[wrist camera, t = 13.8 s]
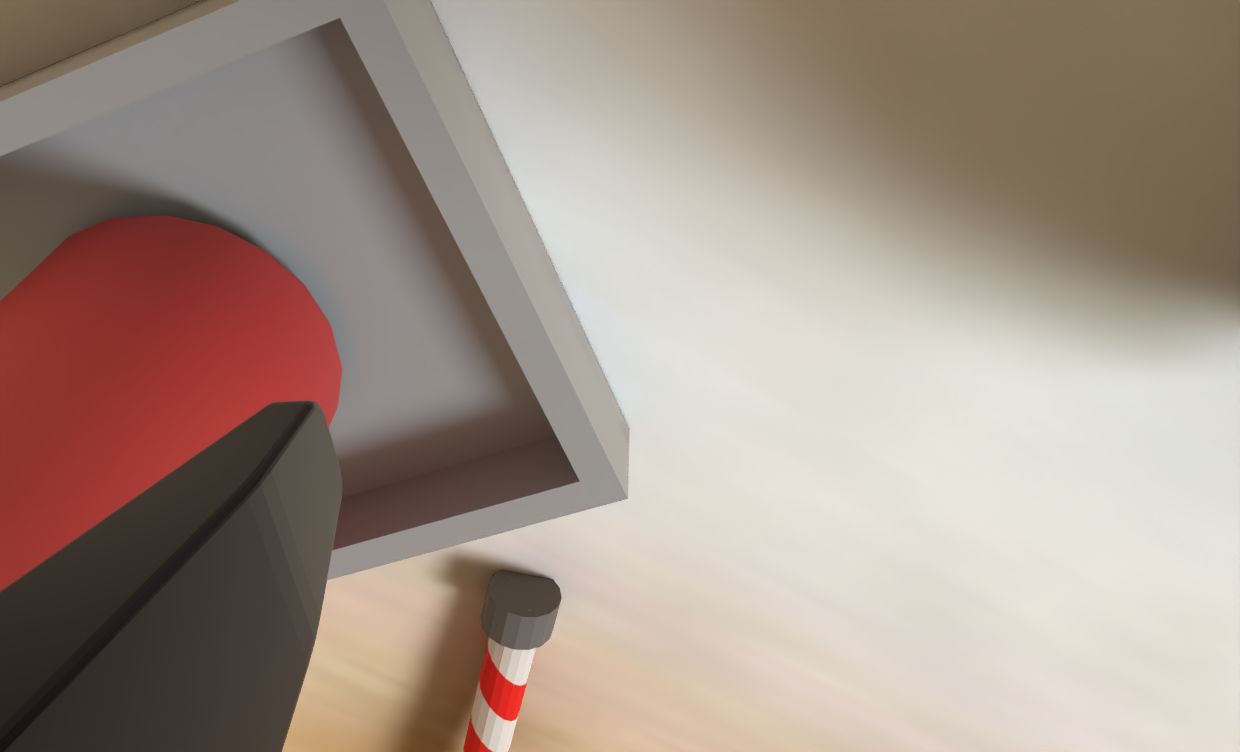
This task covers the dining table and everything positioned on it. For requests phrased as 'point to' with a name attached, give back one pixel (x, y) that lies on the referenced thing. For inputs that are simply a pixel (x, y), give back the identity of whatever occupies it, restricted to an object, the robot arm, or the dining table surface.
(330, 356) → the beer can
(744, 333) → the dining table surface
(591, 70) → the dining table surface
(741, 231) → the dining table surface
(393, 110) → the tray
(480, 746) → the toy hammer
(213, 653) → the robot arm
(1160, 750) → the dining table surface
